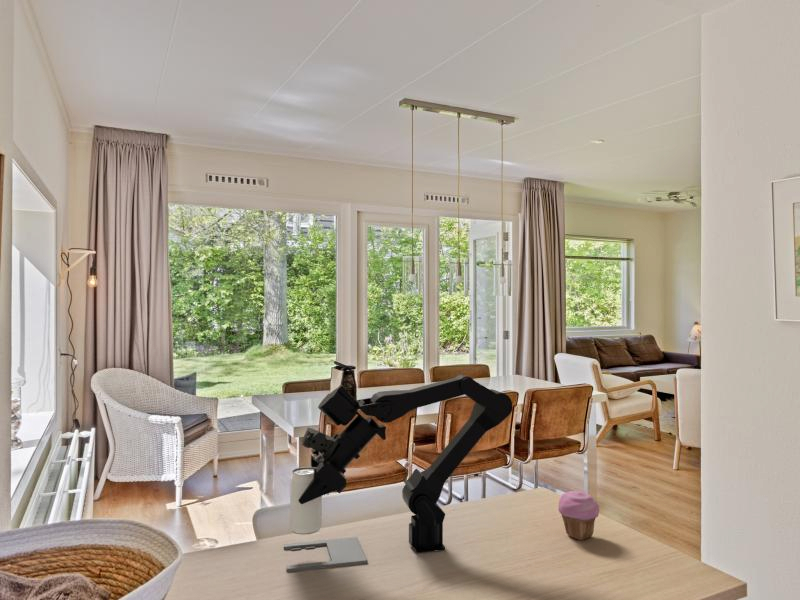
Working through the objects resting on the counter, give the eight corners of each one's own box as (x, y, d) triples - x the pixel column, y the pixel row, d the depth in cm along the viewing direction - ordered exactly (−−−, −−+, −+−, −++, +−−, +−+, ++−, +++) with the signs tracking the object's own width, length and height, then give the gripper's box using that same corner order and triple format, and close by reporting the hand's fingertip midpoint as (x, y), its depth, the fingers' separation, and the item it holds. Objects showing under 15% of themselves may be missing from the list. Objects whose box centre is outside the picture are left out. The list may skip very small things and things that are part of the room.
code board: (357, 539, 124) (357, 536, 125) (367, 563, 113) (367, 560, 113) (283, 546, 120) (283, 543, 120) (286, 572, 109) (286, 568, 109)
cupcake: (583, 547, 121) (583, 501, 121) (550, 535, 128) (550, 490, 128) (606, 537, 126) (606, 492, 127) (573, 525, 133) (573, 483, 133)
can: (315, 536, 112) (315, 475, 112) (285, 533, 113) (285, 474, 114) (326, 524, 118) (326, 467, 119) (297, 522, 120) (297, 465, 120)
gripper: (321, 407, 126) (271, 459, 124) (329, 423, 108) (270, 485, 105) (356, 440, 128) (307, 492, 125) (369, 462, 110) (312, 523, 107)
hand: (299, 497), depth 116 cm, fingers closed on can, 6 cm apart
